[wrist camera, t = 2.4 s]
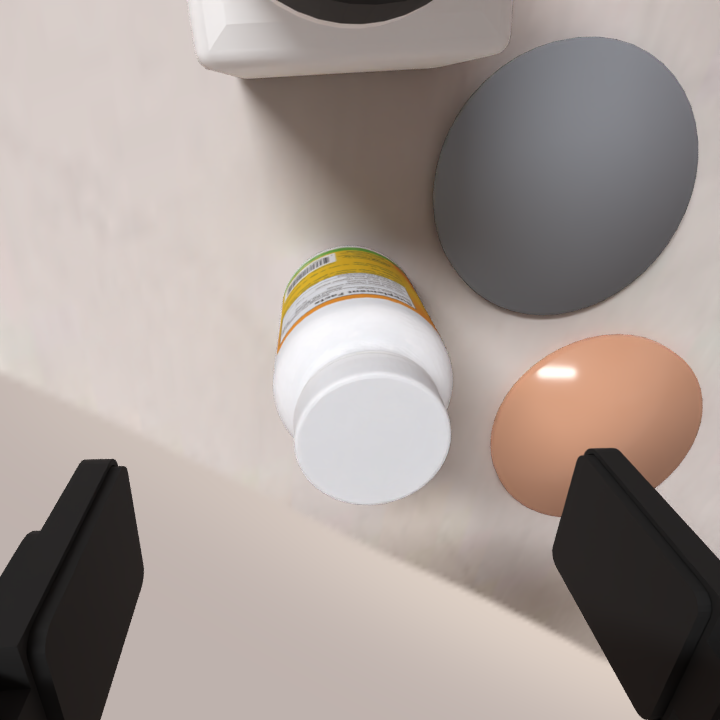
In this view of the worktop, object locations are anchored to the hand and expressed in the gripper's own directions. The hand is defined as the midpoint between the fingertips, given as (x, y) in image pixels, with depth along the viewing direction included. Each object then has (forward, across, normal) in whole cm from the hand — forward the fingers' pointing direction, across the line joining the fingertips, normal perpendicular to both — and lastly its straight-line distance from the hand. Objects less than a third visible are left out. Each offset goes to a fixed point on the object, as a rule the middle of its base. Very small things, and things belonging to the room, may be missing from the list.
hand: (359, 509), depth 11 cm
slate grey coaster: (+12, -9, -5) cm, 16 cm away
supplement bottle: (+12, -1, 0) cm, 12 cm away
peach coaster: (+12, -13, +6) cm, 19 cm away
